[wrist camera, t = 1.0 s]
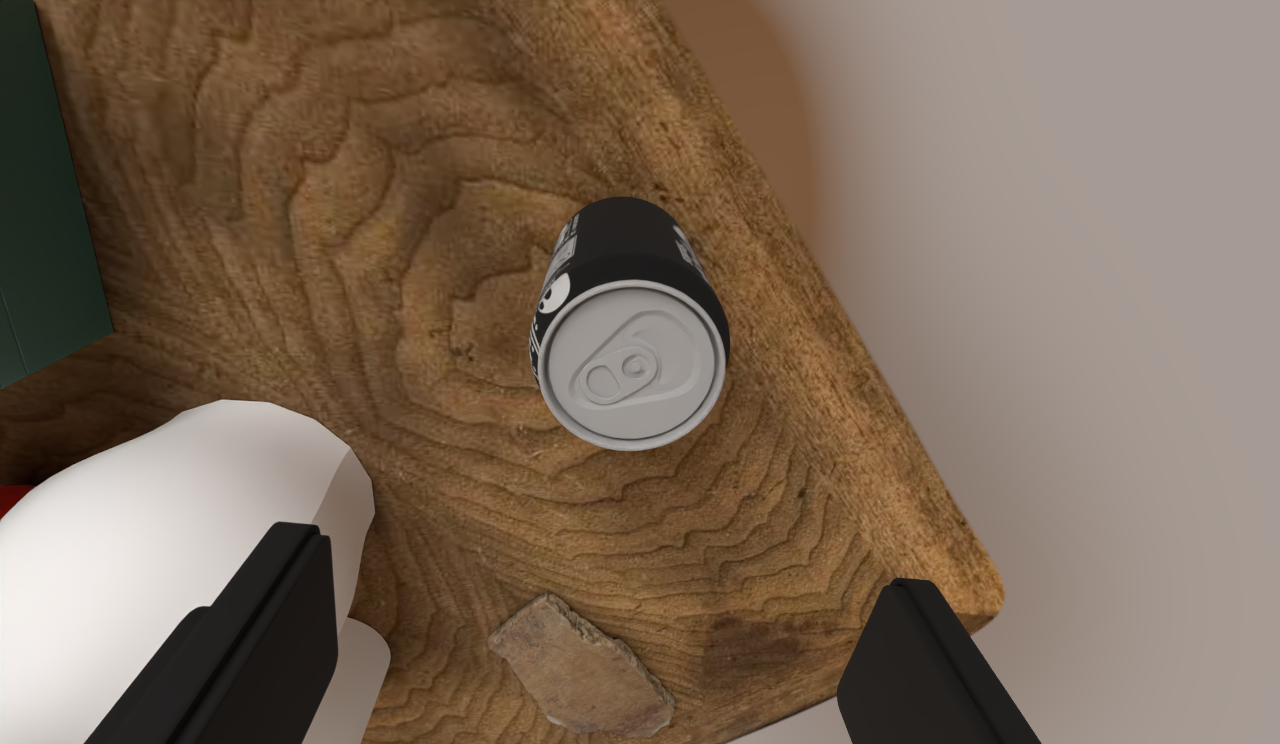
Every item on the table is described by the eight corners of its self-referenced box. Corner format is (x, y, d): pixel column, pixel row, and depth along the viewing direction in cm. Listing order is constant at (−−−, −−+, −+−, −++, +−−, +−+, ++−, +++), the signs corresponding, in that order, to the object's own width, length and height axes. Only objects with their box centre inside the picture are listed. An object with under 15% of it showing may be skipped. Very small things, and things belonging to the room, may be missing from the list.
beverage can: (710, 289, 29) (771, 410, 19) (595, 347, 31) (590, 492, 20) (652, 167, 27) (684, 225, 16) (527, 234, 28) (479, 332, 17)
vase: (272, 332, 29) (-254, 729, 11) (446, 526, 35) (280, 990, 17) (64, 453, 32) (-643, 939, 14) (260, 616, 38) (-56, 1105, 20)
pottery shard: (701, 667, 44) (545, 582, 37) (708, 702, 42) (544, 617, 35) (623, 721, 46) (464, 650, 40) (626, 756, 44) (458, 687, 38)
